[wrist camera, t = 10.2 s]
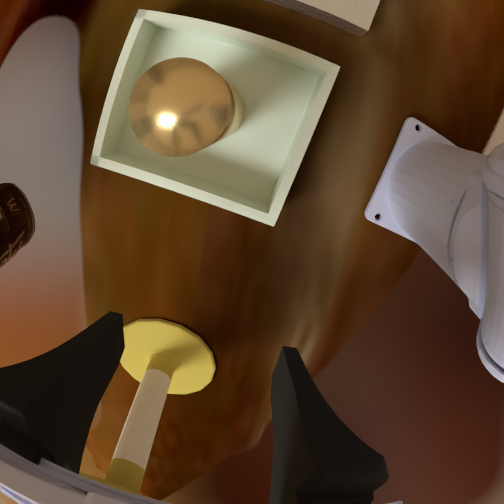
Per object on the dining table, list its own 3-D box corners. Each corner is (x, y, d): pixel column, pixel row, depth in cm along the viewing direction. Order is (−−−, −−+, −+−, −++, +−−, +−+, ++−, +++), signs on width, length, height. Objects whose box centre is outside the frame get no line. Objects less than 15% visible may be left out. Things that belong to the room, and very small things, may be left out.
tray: (329, 73, 17) (340, 66, 14) (272, 211, 21) (273, 226, 18) (154, 21, 16) (138, 9, 13) (110, 156, 20) (90, 163, 17)
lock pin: (253, 89, 17) (242, 70, 10) (233, 148, 19) (210, 169, 12) (192, 73, 17) (145, 50, 10) (174, 131, 18) (118, 143, 11)
